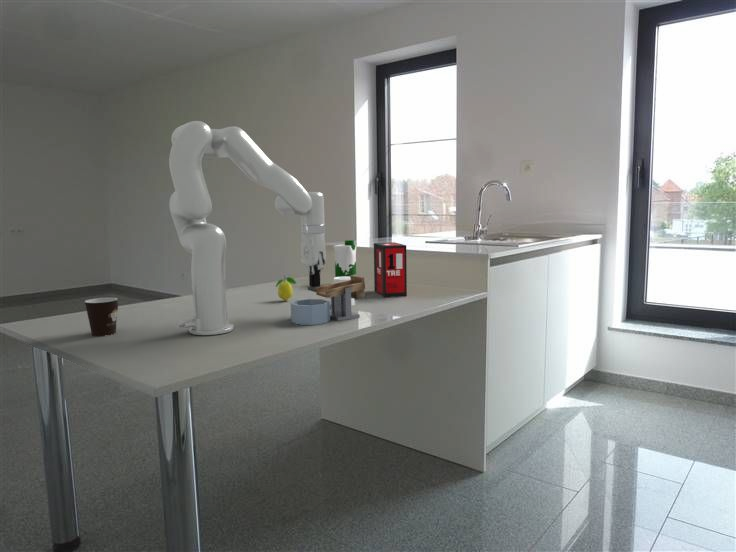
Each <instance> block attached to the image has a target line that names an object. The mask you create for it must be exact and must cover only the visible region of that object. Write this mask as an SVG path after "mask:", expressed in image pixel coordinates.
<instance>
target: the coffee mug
mask: <svg viewBox="0 0 736 552" xmlns="http://www.w3.org/2000/svg"><path fill="white" fill-rule="evenodd" d="M84 304H85V309H86V313H87V317H88V318H87V319H88V322H89V328H90V333H91V336H92V337H106V336H105V335H108V336H112V335H115V334H116V333H117V318H118V309H119V303H118V298H117V297H99V298H92V299H91V298H90V299H86V300H84ZM114 333H115V334H114ZM111 334H112V335H111Z"/></svg>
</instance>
